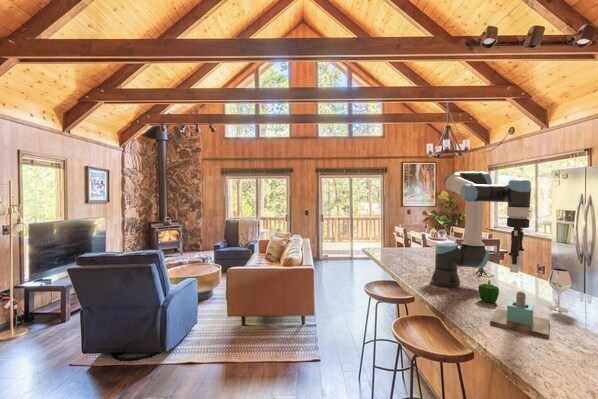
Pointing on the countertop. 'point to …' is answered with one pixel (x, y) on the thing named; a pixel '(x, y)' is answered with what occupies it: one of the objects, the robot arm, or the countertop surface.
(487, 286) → the bell pepper
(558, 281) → the wineglass
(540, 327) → the post board
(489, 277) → the eiffel tower figurine
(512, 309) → the bead
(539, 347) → the countertop surface
